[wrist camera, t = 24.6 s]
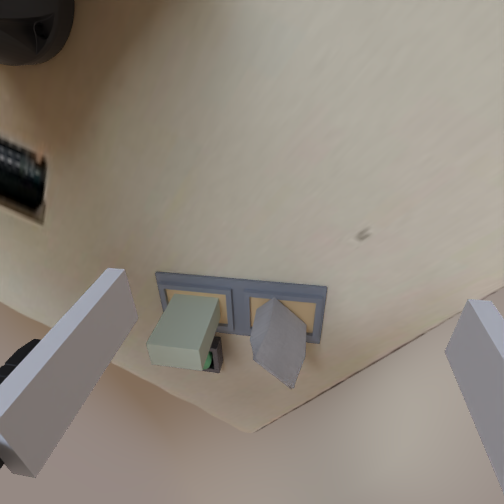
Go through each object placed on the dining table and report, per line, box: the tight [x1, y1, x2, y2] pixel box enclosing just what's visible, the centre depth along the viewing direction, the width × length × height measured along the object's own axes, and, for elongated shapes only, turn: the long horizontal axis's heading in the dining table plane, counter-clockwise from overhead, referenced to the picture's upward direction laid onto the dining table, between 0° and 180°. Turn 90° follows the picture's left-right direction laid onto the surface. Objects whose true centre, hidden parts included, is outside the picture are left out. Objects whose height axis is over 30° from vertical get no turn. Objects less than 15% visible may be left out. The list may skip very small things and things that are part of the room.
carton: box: [146, 294, 221, 371], centre depth 46 cm, size 7×4×10 cm, turn 91°
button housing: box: [202, 336, 223, 373], centre depth 55 cm, size 6×6×2 cm
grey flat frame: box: [155, 272, 327, 344], centre depth 49 cm, size 25×11×1 cm, turn 91°
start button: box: [203, 351, 213, 370], centre depth 55 cm, size 4×4×2 cm
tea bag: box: [250, 297, 306, 389], centre depth 44 cm, size 4×7×10 cm, turn 46°
